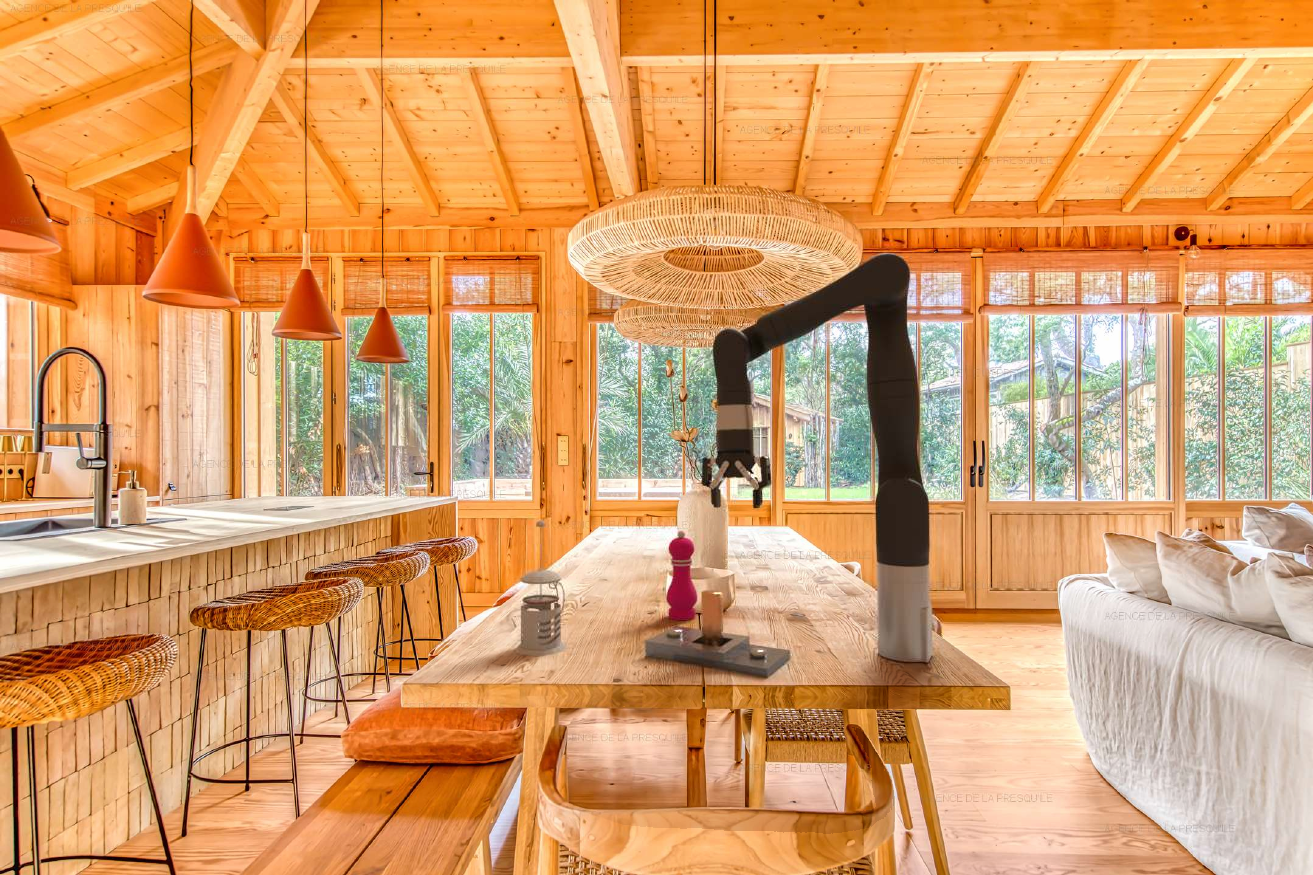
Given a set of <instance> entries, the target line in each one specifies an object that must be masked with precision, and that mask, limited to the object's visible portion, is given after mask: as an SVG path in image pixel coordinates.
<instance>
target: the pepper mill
mask: <svg viewBox="0 0 1313 875" xmlns="http://www.w3.org/2000/svg"><path fill="white" fill-rule="evenodd" d="M677 536H678V537H675V538H673V539H672V540H671V541H670V542H669V545H668V553H669V554H670V556H671V557H672V558H670V561H671V562H670V565H671V566H672V579H671V581H670V584H669V586H668V589H667V592H666V597H665V598H666V602H667V603H668V605H669V606H670V608H668V617H669V619H671V620H673V621H674V620H675V621H690V620H693V619H695V618H696V609H695V608H694V606H695V605H696V603H697V602H698V593H697V590H696V587H695V585H694V582H693V580H692V577H691V566H692V565H693V558H692V556H693V554H694V552H695V544H694V543H693V541H692V540H691V539H689V538H688V537H686V532H685V531H683V530H679V531H678V532H677Z"/></svg>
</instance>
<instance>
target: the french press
mask: <svg viewBox="0 0 1313 875" xmlns="http://www.w3.org/2000/svg"><path fill="white" fill-rule="evenodd" d="M535 527H538V528H540V529H539V535H540V536H539V542H540V543H539V544H540V545H539V546H540V547H539V552H540V553H539V558H540V560H539V562H540V563H539V565H540V567H539V569H537V570H531V571H528V572H526V573H525V574H524V575H523V576H521V577H520V578H519V580H520V582H521V583H523V584H527V585H540V588H539V589H540V590H539V591H540V592H539V594H533V595H532V594H531V595H527V596H525V597H523V598H522V602H523V603H524V604H523V605H521V606H520V627H521V628H520V640H521V641H520V643H519V644H518V645H517V647H516V648H515V652H517V653H518V654H521V655H525V656H533V657H534V656H535V657H537V656H549V655H554V654H558V653H560V652H562V651H564V650H566V646H567V645H566V644H565V643H564V642H563V641H562V635H561V634H562V629H561V626H562V625H561V622H562V621H561V620H562V618H561V617H562V616H561V615H562V612H563V611H564V606H565V590H564V586H563V585H562V583H561V582H560V581H561V580H562V576H561V575H560V574H558V573H557V572H556V571H552V570H550V569H543V568H542V528H543V527H546V521H544V520H538V521H537V522H536V523H535ZM547 584H548V588H549V589H551V590H555V591H556V595H554V594H547V593H546V594H542V585H547ZM551 584H553V585H554V587H551ZM557 584H559V585H560V587H561V589H562V595H563V599H562V600H563V601H562V606H561V604H560V603H559V600H560V597H559V591H558V587H557V586H558V585H557ZM552 604H553V609H552ZM529 609H535V610H529ZM552 620H553V621H552ZM552 627H553V628H552ZM552 634H553V635H552Z"/></svg>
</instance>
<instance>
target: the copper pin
mask: <svg viewBox="0 0 1313 875" xmlns="http://www.w3.org/2000/svg"><path fill="white" fill-rule="evenodd" d="M700 596H701V597H700V598H701V599H700V600H701V630H702V644H703V645H710V646H716V647H721V646H723V633H724V591H721V590H715V589H714V590H713V589H708V590H707V589H706V590H702V591H701V594H700Z"/></svg>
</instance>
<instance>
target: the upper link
mask: <svg viewBox="0 0 1313 875" xmlns="http://www.w3.org/2000/svg"><path fill="white" fill-rule="evenodd" d="M750 642H751V641H750V636H749V635H742V634H735V633H734V634H733V633H727V632H723V646H721V647H716V646H710V645H703V644H702V629H699V628H692V627H685V626H678V625H674V626H673V627H669V628H667V629H666V630H664V631H663V632H660V633H657V634H656V635H654V636H653V637H650V638H648V639H646V640H645V642H644V644H645V647H644V648H645V658H650V659H656V660H661V661H662V660H663V661H665V662H666V661H667V662H673V663H675V662H674V654H680V655H686V656H692V657H698V658H704V659H710V660H716V661H722V662H724V661H726V660H727V659H729V658H730V657H732V656H733V655H735V654H736V653H738V652H739V651H740V650H742V649H743V648H745V647H746V646H748V645H749V644H750Z"/></svg>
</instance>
